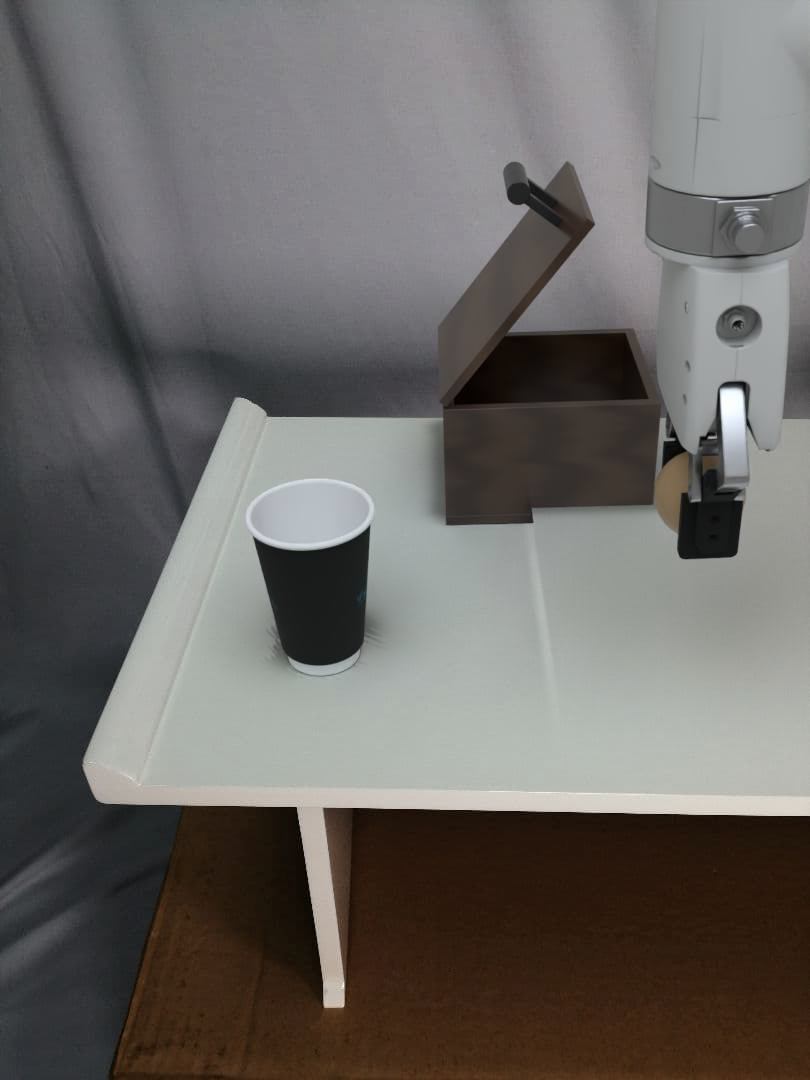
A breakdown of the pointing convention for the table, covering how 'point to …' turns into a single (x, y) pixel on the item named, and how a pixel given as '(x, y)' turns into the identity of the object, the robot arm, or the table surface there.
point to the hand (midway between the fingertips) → (697, 524)
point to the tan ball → (676, 487)
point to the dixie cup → (315, 568)
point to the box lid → (512, 273)
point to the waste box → (552, 427)
